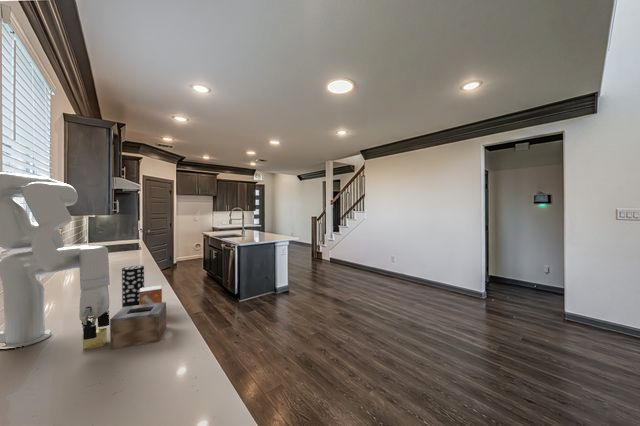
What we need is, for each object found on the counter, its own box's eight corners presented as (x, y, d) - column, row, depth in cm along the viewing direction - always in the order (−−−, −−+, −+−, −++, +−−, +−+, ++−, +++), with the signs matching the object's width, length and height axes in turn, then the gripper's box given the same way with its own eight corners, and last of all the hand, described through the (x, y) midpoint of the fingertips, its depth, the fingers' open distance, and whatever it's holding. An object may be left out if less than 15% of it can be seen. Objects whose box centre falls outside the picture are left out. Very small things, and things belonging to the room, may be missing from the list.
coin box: (110, 349, 84) (110, 319, 84) (123, 333, 96) (123, 306, 95) (158, 341, 89) (158, 313, 89) (166, 326, 101) (166, 301, 100)
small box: (139, 323, 104) (138, 291, 104) (140, 317, 109) (139, 287, 109) (162, 318, 109) (162, 288, 108) (162, 313, 114) (161, 284, 114)
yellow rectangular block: (82, 349, 85) (82, 334, 84) (87, 344, 87) (87, 330, 87) (103, 346, 86) (103, 331, 86) (106, 341, 89) (106, 327, 89)
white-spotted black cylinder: (118, 312, 115) (117, 268, 115) (137, 305, 123) (136, 265, 123) (129, 315, 112) (129, 270, 112) (148, 308, 120) (148, 266, 120)
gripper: (93, 278, 93) (95, 324, 94) (66, 291, 77) (68, 346, 77) (118, 275, 96) (120, 320, 96) (96, 287, 80) (99, 341, 80)
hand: (97, 332), depth 87 cm, fingers open, 9 cm apart
